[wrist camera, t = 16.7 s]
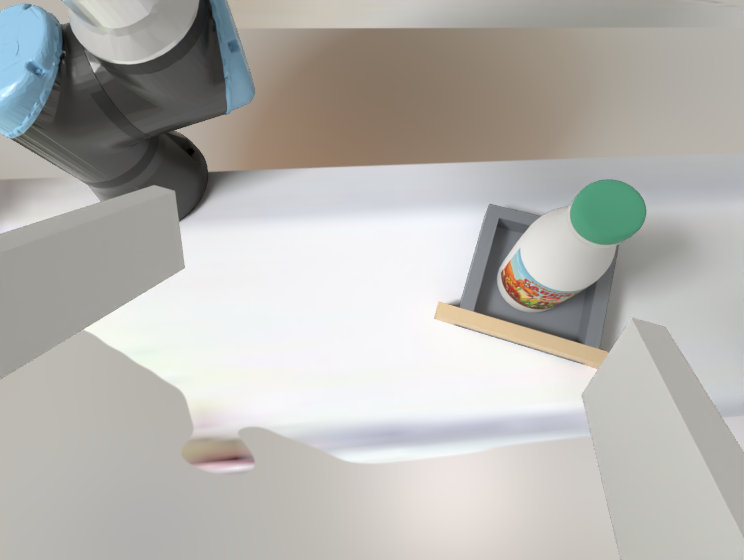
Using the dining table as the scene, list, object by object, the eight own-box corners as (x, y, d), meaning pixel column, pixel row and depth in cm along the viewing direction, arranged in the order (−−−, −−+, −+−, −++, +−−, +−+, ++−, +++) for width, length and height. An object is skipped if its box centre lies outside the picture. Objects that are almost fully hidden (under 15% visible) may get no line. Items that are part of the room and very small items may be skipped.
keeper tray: (433, 318, 46) (435, 313, 43) (465, 210, 49) (469, 198, 46) (606, 371, 42) (621, 370, 39) (628, 251, 46) (644, 241, 43)
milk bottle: (490, 256, 47) (543, 166, 27) (554, 248, 46) (654, 150, 27) (502, 317, 44) (569, 266, 25) (569, 310, 44) (690, 251, 25)
